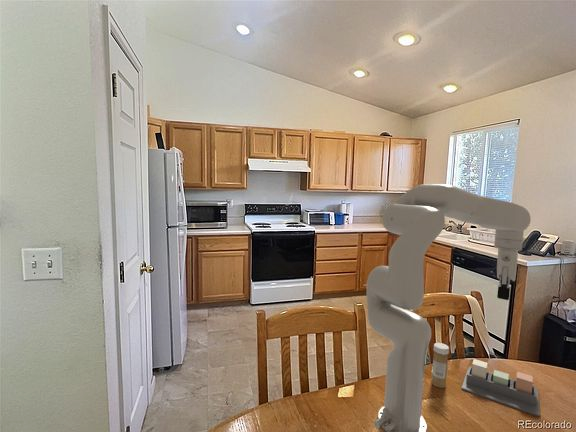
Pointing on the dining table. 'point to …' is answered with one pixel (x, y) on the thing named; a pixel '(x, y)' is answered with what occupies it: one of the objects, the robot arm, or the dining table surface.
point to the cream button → (479, 369)
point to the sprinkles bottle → (440, 365)
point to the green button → (500, 378)
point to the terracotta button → (524, 383)
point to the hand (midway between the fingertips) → (503, 298)
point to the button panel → (502, 392)
